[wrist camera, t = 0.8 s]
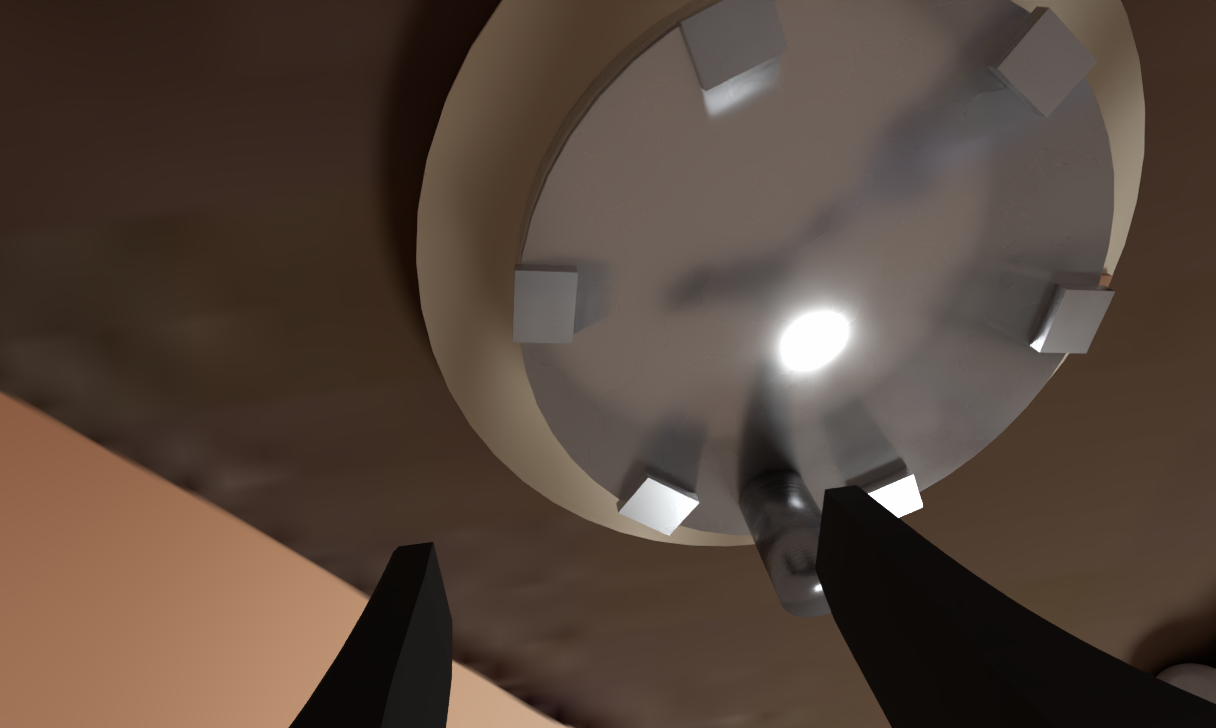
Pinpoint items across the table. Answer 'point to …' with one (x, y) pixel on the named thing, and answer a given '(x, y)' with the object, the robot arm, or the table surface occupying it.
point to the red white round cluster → (1192, 679)
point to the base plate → (508, 163)
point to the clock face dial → (811, 257)
